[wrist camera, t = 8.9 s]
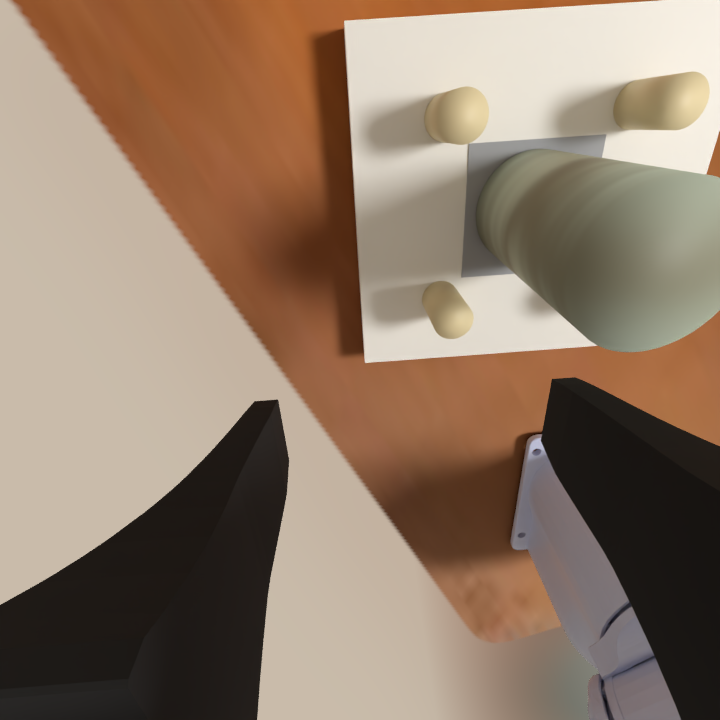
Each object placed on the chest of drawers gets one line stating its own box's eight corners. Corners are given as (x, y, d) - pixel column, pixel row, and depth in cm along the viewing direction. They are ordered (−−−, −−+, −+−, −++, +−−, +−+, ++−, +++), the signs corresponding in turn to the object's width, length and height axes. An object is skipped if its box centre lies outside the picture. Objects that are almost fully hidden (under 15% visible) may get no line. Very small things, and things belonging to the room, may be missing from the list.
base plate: (639, 330, 22) (692, 367, 18) (363, 351, 22) (368, 391, 18) (732, 3, 15) (837, -30, 12) (343, 27, 15) (345, 1, 12)
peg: (573, 258, 18) (716, 345, 11) (471, 266, 18) (553, 358, 11) (595, 144, 16) (789, 167, 9) (480, 152, 16) (588, 180, 9)
